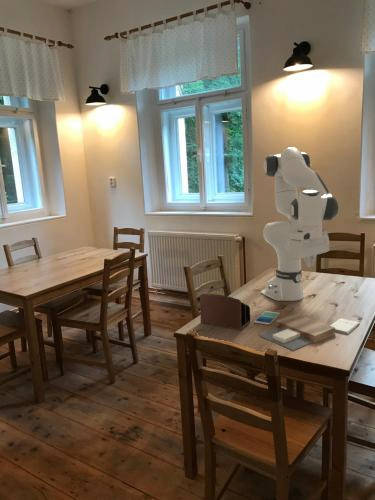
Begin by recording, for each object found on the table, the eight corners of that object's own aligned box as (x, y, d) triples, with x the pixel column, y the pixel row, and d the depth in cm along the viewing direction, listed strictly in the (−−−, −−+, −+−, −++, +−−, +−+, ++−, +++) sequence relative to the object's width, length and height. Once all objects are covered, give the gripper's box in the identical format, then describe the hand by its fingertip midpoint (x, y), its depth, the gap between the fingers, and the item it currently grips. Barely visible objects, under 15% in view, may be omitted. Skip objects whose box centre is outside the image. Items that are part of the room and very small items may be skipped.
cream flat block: (272, 338, 160) (272, 334, 160) (288, 331, 165) (288, 328, 165) (284, 343, 155) (284, 339, 155) (300, 336, 160) (300, 333, 160)
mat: (258, 335, 164) (258, 334, 164) (277, 328, 170) (277, 327, 170) (293, 351, 149) (293, 350, 149) (312, 342, 155) (312, 341, 155)
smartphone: (280, 312, 186) (269, 324, 173) (280, 314, 186) (269, 326, 174) (265, 310, 190) (253, 321, 177) (265, 312, 190) (253, 323, 177)
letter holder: (241, 330, 170) (240, 298, 167) (200, 323, 181) (198, 292, 178) (250, 322, 178) (250, 291, 175) (211, 315, 189) (209, 286, 186)
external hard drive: (327, 330, 166) (339, 321, 175) (347, 335, 161) (359, 325, 169) (327, 327, 166) (340, 317, 175) (347, 331, 160) (359, 321, 169)
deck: (275, 327, 171) (275, 320, 170) (295, 320, 177) (295, 313, 177) (315, 343, 155) (315, 335, 154) (334, 334, 161) (334, 327, 160)
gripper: (320, 227, 167) (320, 260, 170) (286, 235, 156) (286, 269, 159) (333, 229, 162) (333, 263, 165) (299, 237, 151) (298, 272, 154)
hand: (309, 266), depth 162 cm, fingers closed
